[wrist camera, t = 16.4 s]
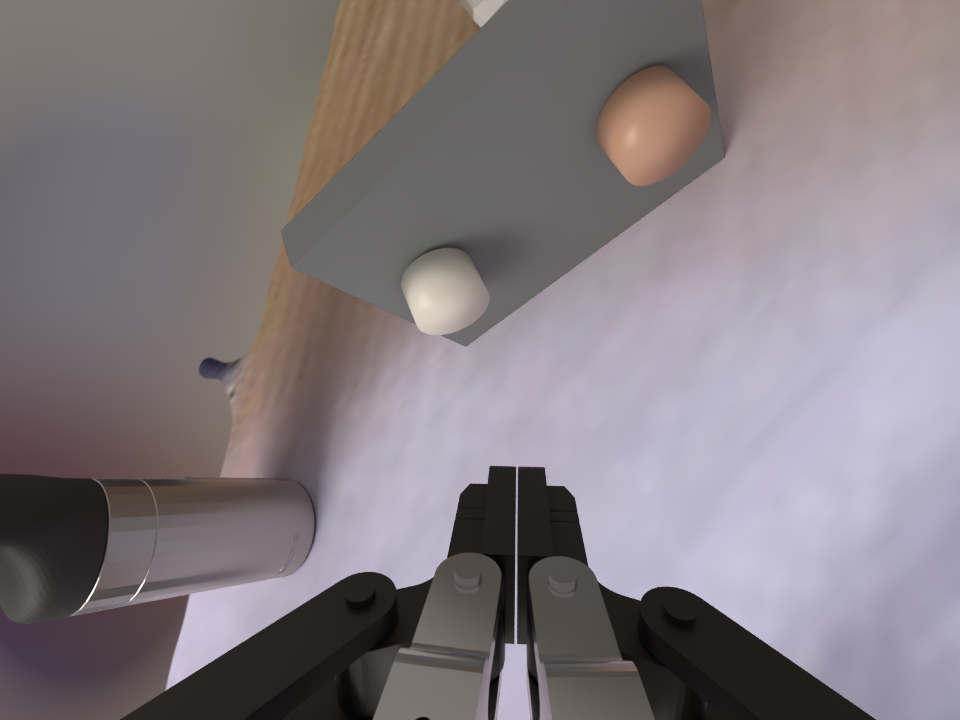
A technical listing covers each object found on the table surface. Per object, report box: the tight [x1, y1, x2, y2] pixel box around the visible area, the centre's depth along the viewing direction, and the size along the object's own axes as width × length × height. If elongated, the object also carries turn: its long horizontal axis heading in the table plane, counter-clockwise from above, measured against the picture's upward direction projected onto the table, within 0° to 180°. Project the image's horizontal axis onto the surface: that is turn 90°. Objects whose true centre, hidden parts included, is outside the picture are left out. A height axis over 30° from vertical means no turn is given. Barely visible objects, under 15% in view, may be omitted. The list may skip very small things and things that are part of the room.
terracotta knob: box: [596, 66, 711, 186], centre depth 27 cm, size 10×5×5 cm, turn 26°
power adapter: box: [459, 0, 508, 28], centre depth 45 cm, size 11×5×6 cm, turn 31°
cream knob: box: [401, 248, 490, 335], centre depth 32 cm, size 10×5×5 cm, turn 26°
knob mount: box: [281, 0, 725, 346], centre depth 32 cm, size 8×24×18 cm, turn 116°
